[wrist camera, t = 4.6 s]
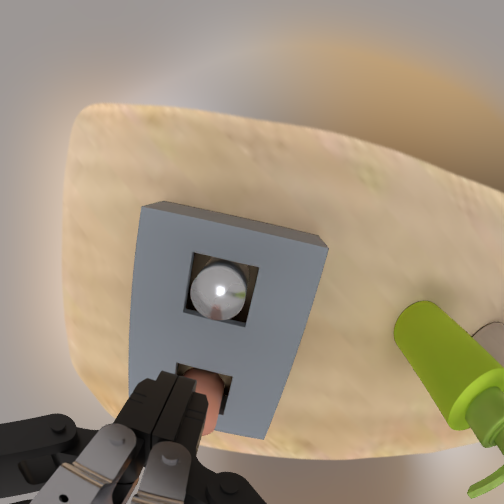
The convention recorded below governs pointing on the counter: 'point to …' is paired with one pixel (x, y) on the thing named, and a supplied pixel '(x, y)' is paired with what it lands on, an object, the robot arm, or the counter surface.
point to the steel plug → (220, 288)
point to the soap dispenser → (456, 377)
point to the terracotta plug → (208, 394)
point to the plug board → (222, 331)
